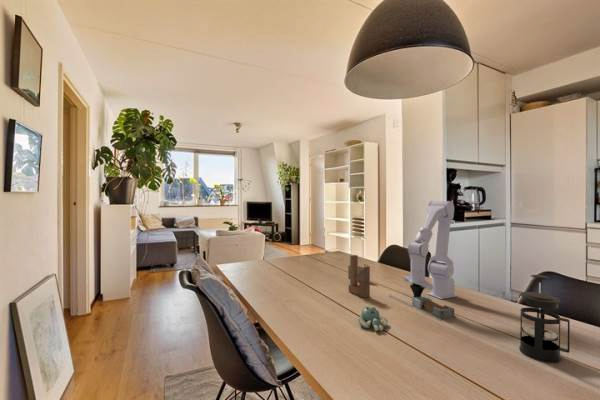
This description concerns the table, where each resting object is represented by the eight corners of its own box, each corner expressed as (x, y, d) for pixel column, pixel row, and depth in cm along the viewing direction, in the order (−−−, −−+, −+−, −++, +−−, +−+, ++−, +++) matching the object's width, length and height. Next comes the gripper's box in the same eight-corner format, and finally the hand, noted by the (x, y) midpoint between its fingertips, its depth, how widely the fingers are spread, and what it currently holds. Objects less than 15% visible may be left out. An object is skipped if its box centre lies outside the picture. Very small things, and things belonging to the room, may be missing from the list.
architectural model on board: (369, 281, 159) (369, 264, 159) (366, 283, 157) (366, 265, 157) (351, 278, 167) (351, 261, 167) (348, 279, 165) (348, 262, 164)
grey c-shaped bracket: (445, 313, 115) (445, 305, 115) (454, 317, 111) (454, 308, 111) (432, 315, 112) (432, 307, 112) (441, 319, 109) (441, 311, 109)
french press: (514, 353, 85) (515, 275, 85) (518, 342, 92) (519, 269, 92) (569, 370, 77) (570, 283, 77) (569, 355, 84) (569, 276, 84)
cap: (424, 303, 125) (424, 296, 125) (431, 306, 121) (431, 299, 121) (412, 305, 123) (412, 298, 123) (419, 309, 119) (419, 301, 119)
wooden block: (364, 298, 132) (364, 258, 132) (348, 291, 141) (348, 254, 141) (370, 296, 134) (370, 257, 134) (353, 290, 143) (353, 254, 143)
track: (403, 293, 138) (403, 292, 138) (456, 316, 112) (456, 315, 112) (388, 295, 135) (388, 294, 135) (439, 320, 108) (439, 318, 108)
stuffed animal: (365, 319, 97) (354, 300, 108) (363, 338, 98) (352, 317, 110) (395, 317, 98) (381, 298, 110) (393, 336, 100) (380, 315, 111)
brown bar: (430, 307, 121) (430, 300, 121) (448, 316, 111) (448, 309, 111) (424, 308, 120) (424, 301, 120) (441, 317, 111) (441, 310, 111)
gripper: (398, 267, 129) (398, 297, 130) (423, 275, 116) (423, 309, 116) (411, 265, 132) (411, 295, 132) (436, 273, 118) (436, 306, 119)
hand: (417, 301), depth 124 cm, fingers closed, pressing on cap
